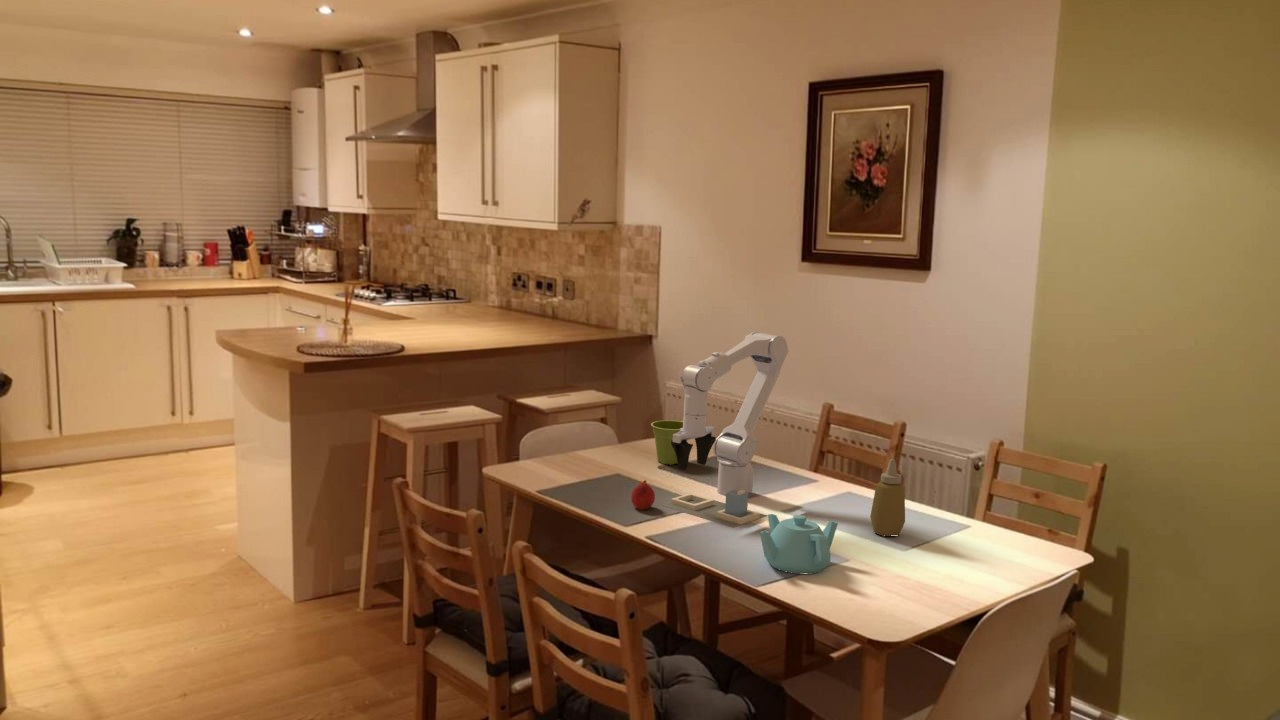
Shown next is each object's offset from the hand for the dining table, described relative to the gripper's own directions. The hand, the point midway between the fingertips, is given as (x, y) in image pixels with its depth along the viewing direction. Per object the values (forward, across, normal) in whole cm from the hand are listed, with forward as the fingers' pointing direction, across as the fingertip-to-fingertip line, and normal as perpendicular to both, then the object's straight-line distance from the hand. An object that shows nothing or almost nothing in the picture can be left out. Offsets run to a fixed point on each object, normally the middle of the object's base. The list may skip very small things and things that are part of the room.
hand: (692, 466), depth 254 cm
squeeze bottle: (+10, -17, +45) cm, 50 cm away
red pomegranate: (+10, +14, -4) cm, 18 cm away
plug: (+9, +2, +16) cm, 18 cm away
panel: (+10, +2, +9) cm, 14 cm away
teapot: (+10, +17, +42) cm, 46 cm away
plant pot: (+10, -29, -30) cm, 43 cm away
